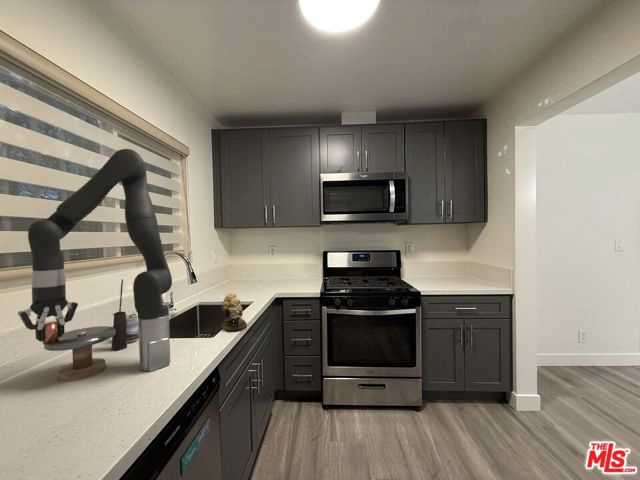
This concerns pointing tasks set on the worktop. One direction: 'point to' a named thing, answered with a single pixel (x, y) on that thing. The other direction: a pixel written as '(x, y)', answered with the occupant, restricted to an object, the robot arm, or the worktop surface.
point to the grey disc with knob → (74, 337)
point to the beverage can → (132, 327)
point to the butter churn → (119, 328)
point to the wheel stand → (82, 365)
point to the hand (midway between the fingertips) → (50, 338)
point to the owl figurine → (233, 313)
